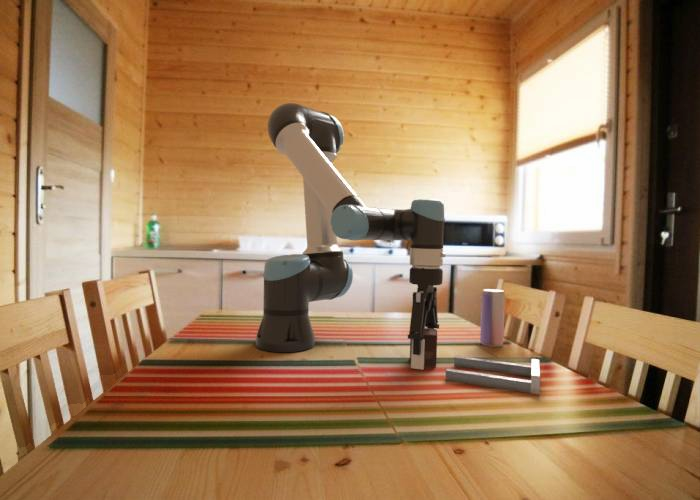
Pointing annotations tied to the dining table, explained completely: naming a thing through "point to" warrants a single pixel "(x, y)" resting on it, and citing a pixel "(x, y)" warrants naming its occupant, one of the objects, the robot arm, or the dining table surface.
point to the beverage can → (492, 317)
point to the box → (429, 347)
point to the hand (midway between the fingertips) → (423, 361)
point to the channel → (493, 380)
